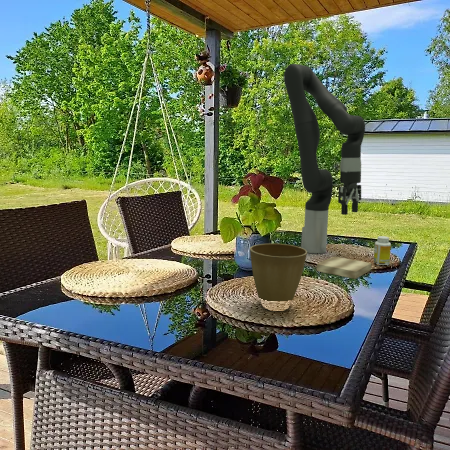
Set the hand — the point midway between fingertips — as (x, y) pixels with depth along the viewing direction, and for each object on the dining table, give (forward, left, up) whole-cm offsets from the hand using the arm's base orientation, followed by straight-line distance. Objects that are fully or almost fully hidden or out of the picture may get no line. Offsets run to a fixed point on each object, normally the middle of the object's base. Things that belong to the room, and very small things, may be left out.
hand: (349, 213), depth 174 cm
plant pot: (+18, -61, -18) cm, 66 cm away
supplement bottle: (+13, +3, -18) cm, 22 cm away
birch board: (+9, -15, -18) cm, 25 cm away
